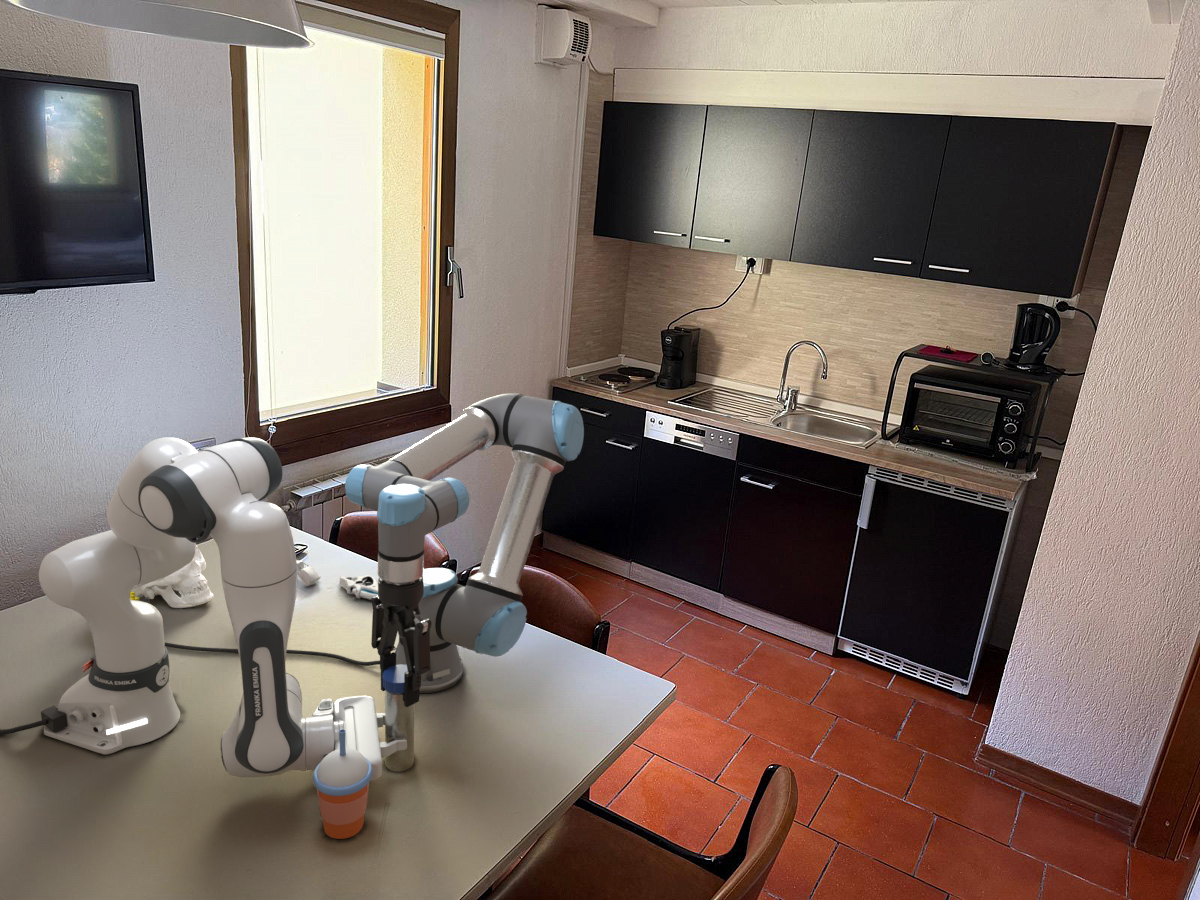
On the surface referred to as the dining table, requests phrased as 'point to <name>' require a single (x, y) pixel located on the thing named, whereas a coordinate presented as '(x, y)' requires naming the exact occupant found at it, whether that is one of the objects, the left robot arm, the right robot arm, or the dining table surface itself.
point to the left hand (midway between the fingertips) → (404, 731)
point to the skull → (182, 585)
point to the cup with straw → (343, 790)
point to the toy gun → (360, 586)
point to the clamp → (307, 573)
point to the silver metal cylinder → (399, 730)
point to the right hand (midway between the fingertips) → (399, 695)
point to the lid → (394, 678)
